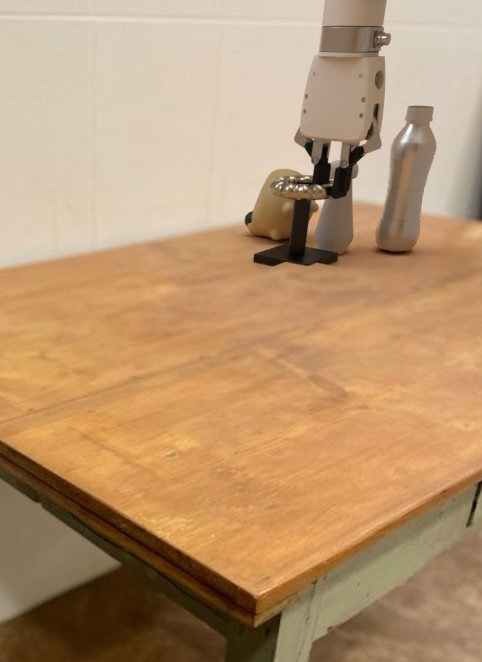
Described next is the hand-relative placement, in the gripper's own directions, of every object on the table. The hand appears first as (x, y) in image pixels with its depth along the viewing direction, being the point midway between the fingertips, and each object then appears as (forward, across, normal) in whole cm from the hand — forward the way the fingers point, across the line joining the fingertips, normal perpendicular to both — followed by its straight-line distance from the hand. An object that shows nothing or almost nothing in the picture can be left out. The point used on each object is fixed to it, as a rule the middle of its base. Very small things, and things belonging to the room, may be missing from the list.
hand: (329, 194), depth 113 cm
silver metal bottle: (+10, -4, -16) cm, 19 cm away
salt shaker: (+10, +3, -9) cm, 14 cm away
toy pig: (+10, +14, -11) cm, 20 cm away
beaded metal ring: (-1, +4, 0) cm, 4 cm away
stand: (+10, +4, 0) cm, 11 cm away
